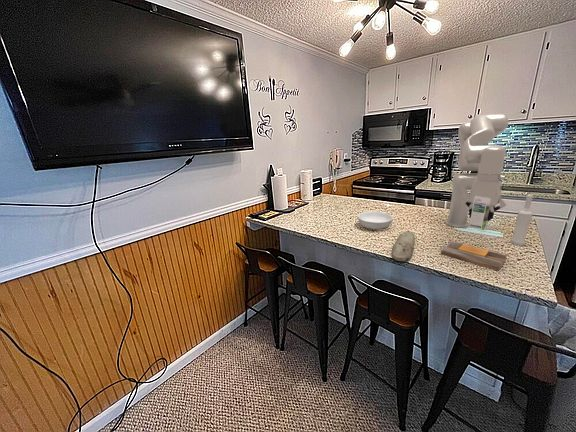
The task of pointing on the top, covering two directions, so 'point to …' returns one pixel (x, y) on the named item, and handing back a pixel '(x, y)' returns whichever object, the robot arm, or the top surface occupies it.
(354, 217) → the top surface
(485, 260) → the wooden tray
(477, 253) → the orange rectangular panel
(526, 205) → the bottle
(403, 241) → the elongated rock
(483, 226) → the syrup box
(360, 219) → the serving bowl
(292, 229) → the top surface
